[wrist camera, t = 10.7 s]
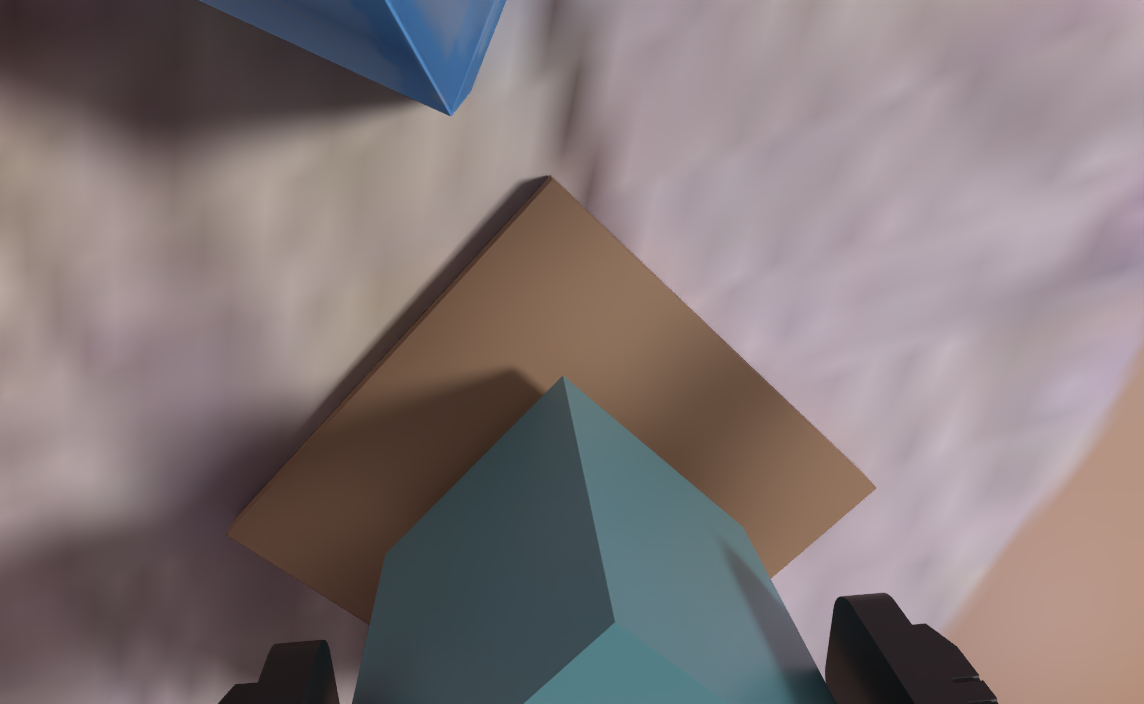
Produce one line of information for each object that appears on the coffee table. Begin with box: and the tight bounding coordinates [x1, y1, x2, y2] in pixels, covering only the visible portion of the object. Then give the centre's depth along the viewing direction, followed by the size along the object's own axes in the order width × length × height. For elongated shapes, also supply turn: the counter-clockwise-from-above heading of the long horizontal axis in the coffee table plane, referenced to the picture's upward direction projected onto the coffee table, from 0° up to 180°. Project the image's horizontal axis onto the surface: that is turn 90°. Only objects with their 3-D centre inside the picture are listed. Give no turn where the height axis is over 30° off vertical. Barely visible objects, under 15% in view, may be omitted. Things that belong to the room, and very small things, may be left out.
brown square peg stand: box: [226, 175, 876, 625], centre depth 13 cm, size 10×10×8 cm
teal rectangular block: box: [352, 376, 836, 704], centre depth 12 cm, size 5×5×7 cm
